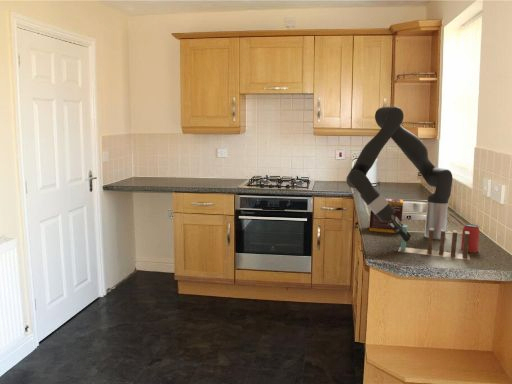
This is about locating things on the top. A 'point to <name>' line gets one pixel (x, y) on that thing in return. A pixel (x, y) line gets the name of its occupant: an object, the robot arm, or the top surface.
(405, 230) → the teal domino
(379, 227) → the supplement box
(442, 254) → the walnut domino
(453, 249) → the walnut domino
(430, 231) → the walnut domino
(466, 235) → the walnut domino
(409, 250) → the birch board
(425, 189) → the top surface
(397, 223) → the robot arm
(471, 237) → the beer can
